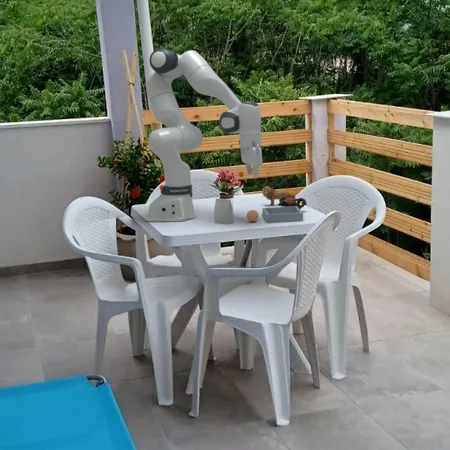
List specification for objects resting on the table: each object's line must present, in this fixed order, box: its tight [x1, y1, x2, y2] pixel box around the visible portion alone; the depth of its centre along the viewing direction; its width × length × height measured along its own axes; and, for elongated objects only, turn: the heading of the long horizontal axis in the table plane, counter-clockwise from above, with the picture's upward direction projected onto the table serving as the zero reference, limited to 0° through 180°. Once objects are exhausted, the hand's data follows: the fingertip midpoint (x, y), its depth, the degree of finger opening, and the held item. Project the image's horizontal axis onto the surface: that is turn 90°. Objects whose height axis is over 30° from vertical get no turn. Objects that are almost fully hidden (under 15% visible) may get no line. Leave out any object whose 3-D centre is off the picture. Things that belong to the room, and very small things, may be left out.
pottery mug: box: [278, 194, 307, 211], centre depth 343 cm, size 12×10×8 cm
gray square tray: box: [261, 206, 304, 224], centre depth 328 cm, size 15×15×4 cm
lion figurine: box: [262, 186, 291, 207], centre depth 357 cm, size 15×5×9 cm, turn 95°
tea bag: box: [213, 198, 234, 225], centre depth 322 cm, size 4×7×10 cm, turn 60°
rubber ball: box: [246, 209, 260, 223], centre depth 323 cm, size 5×5×5 cm
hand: (252, 175), depth 320 cm, fingers open, 8 cm apart
